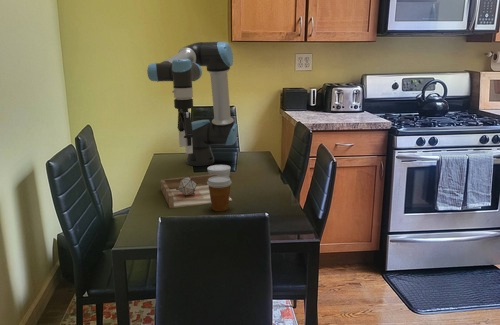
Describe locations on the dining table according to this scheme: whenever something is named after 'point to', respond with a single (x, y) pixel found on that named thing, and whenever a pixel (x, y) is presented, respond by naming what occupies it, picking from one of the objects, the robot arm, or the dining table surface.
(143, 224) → the dining table surface
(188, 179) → the game die
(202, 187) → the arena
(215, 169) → the ramekin
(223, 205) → the disposable coffee cup
